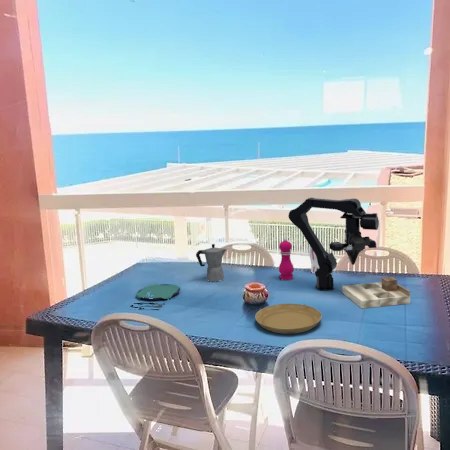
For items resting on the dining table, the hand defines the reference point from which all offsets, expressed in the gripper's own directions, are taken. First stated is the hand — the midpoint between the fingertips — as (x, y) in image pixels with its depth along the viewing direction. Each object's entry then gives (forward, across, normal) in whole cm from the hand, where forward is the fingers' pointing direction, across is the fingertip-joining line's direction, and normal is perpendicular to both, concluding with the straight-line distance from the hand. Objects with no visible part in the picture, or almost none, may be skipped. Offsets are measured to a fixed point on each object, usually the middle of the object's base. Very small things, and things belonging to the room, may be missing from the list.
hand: (352, 264), depth 196 cm
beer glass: (+12, -5, +33) cm, 36 cm away
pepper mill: (+12, -22, +28) cm, 38 cm away
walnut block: (+9, +11, -10) cm, 18 cm away
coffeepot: (+12, -57, +37) cm, 69 cm away
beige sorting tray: (+12, +5, -10) cm, 16 cm away
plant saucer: (+12, -36, -26) cm, 46 cm away
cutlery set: (+13, -86, +18) cm, 88 cm away
